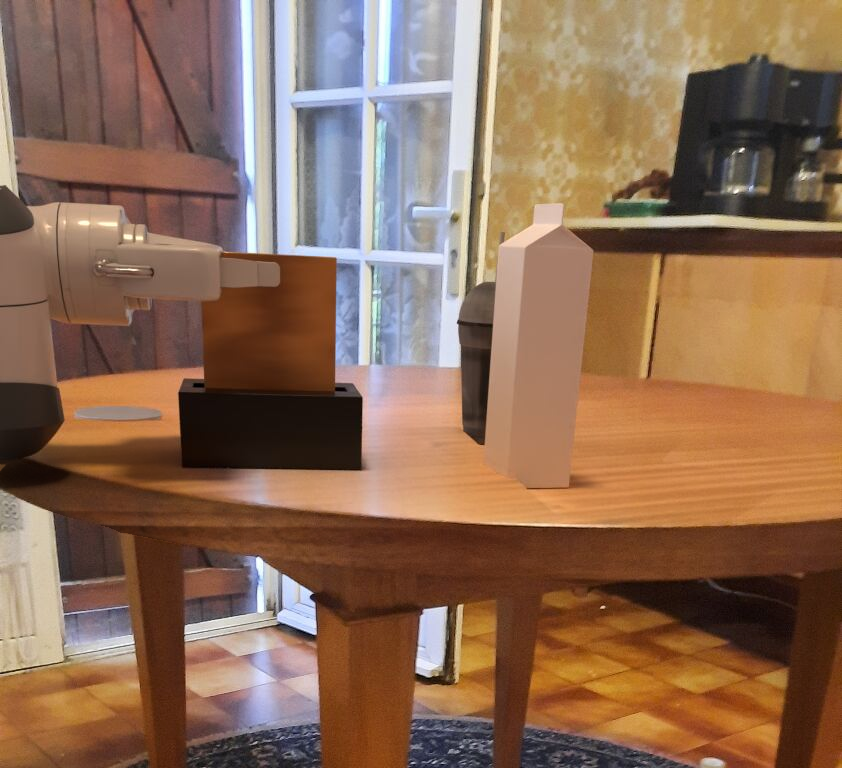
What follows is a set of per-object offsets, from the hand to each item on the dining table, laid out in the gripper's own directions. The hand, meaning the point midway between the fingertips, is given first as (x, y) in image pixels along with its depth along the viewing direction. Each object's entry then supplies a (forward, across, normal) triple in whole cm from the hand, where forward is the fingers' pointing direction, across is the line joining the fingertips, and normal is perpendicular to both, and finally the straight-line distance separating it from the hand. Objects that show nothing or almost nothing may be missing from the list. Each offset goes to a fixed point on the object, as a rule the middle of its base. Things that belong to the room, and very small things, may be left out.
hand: (279, 274), depth 88 cm
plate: (-16, +23, +16) cm, 33 cm away
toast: (-1, 0, +10) cm, 11 cm away
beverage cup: (+22, +18, +16) cm, 32 cm away
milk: (+21, -3, +16) cm, 27 cm away
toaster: (-1, 0, +16) cm, 16 cm away
